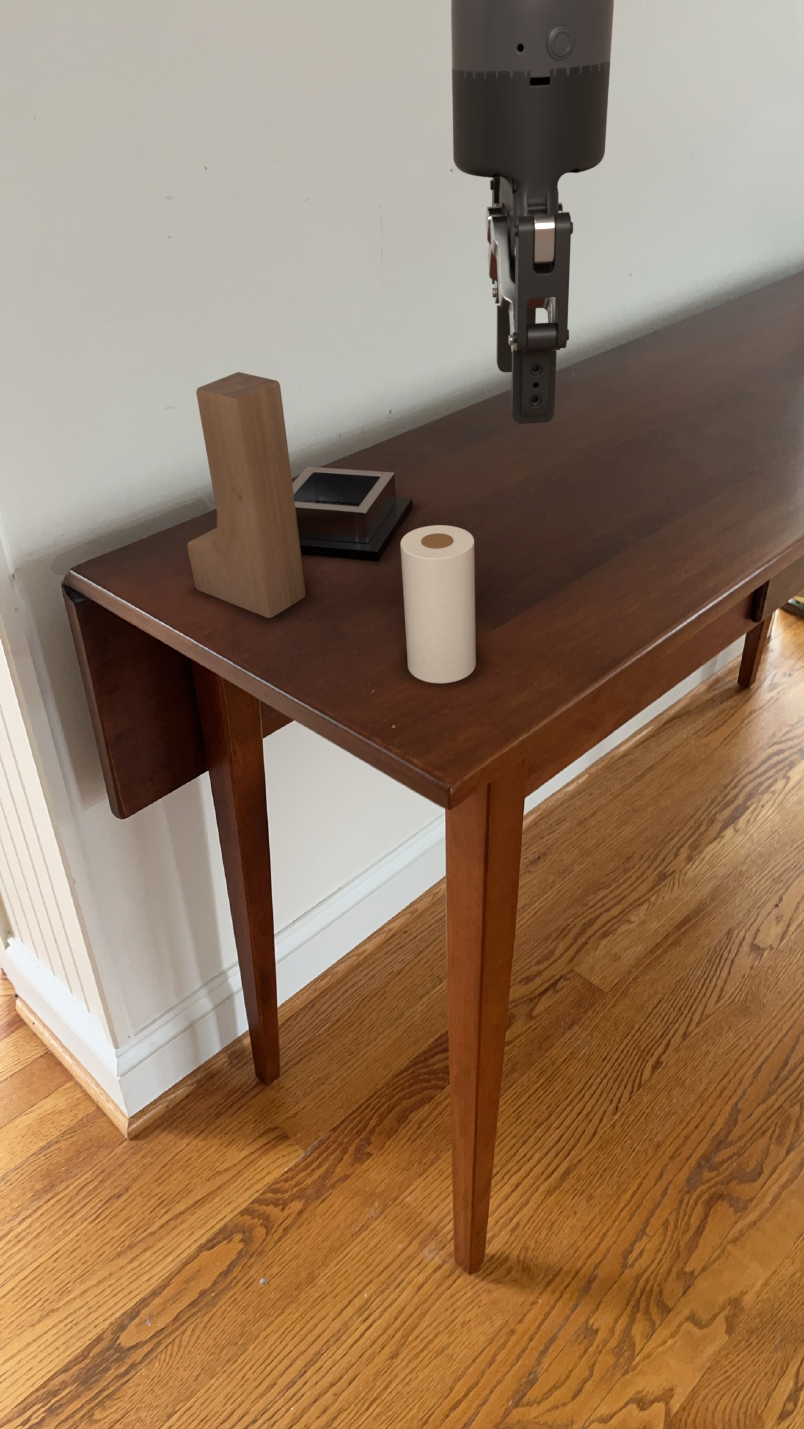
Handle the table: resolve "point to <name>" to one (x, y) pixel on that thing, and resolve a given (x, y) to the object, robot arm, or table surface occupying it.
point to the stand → (347, 512)
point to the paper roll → (439, 602)
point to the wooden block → (248, 499)
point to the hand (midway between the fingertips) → (523, 394)
